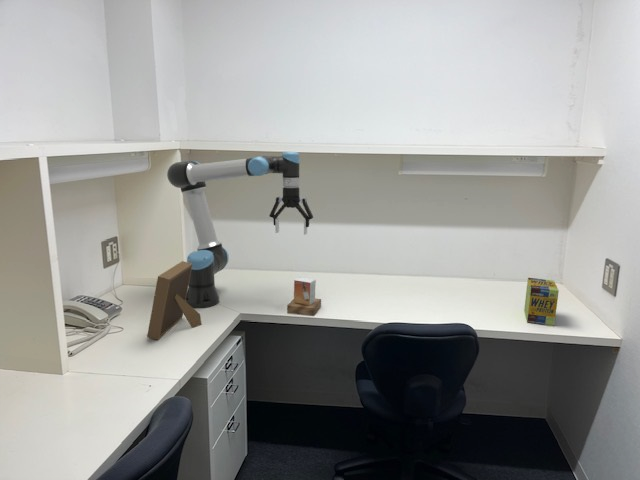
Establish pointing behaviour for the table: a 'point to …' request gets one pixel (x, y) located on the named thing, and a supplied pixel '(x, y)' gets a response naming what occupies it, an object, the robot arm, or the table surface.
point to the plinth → (304, 308)
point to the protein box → (541, 301)
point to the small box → (304, 291)
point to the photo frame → (172, 301)
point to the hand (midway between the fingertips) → (291, 233)
